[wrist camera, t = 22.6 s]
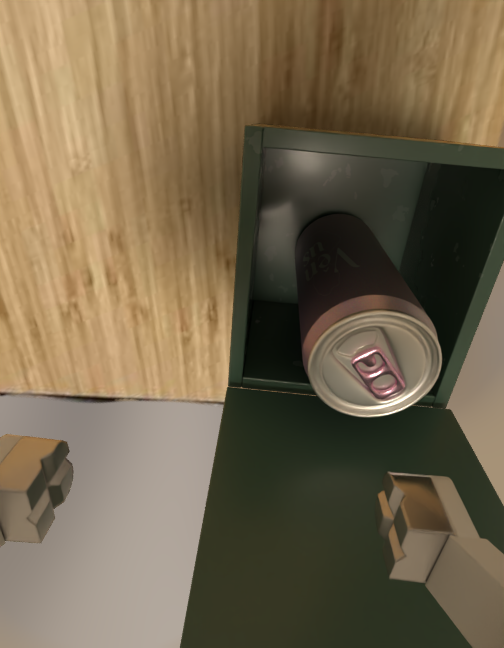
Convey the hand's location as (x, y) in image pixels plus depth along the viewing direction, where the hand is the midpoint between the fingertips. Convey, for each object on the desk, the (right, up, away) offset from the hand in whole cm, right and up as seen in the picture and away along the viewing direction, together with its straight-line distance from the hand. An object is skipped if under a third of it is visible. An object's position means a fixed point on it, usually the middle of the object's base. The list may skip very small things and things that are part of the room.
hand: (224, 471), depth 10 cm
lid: (+5, -4, +6) cm, 9 cm away
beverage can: (+7, +9, +20) cm, 23 cm away
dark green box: (+7, +11, +20) cm, 24 cm away
